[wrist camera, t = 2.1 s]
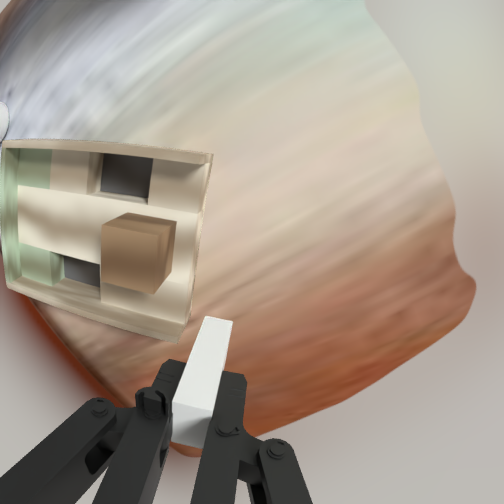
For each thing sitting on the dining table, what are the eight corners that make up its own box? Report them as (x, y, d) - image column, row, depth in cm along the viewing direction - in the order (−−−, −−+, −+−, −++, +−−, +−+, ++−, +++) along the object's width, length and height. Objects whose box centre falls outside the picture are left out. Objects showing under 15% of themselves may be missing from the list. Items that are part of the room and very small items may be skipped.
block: (127, 212, 27) (101, 224, 22) (176, 221, 27) (157, 235, 22) (124, 261, 28) (101, 281, 24) (171, 271, 28) (153, 294, 24)
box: (32, 138, 28) (2, 140, 22) (213, 154, 28) (200, 154, 22) (32, 271, 33) (7, 287, 28) (190, 316, 33) (177, 343, 28)
